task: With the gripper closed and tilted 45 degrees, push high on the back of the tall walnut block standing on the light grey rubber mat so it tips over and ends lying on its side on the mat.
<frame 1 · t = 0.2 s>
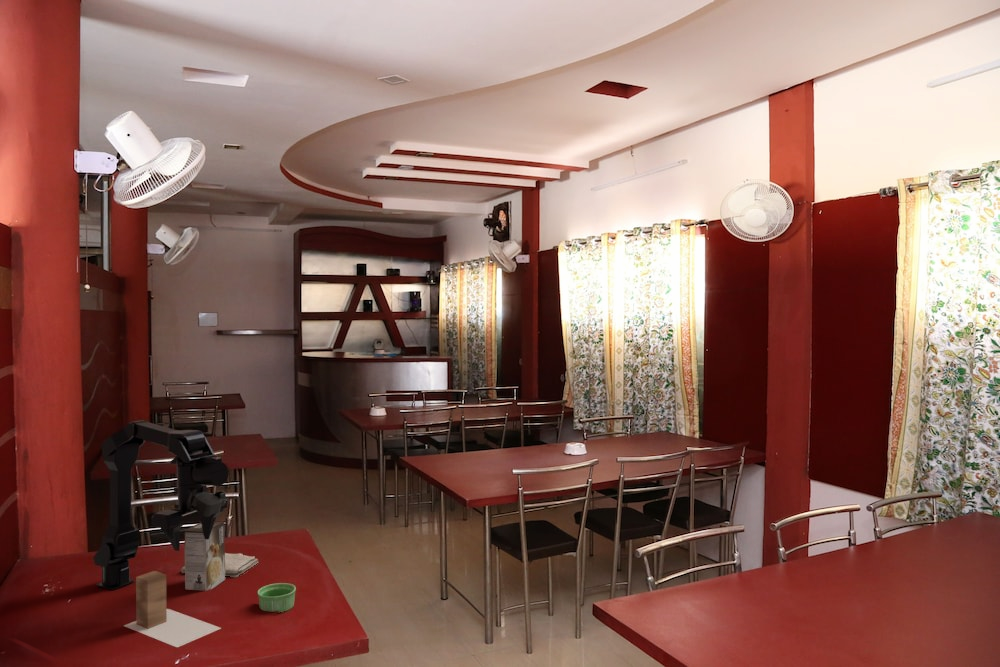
hand: (192, 544, 175), 14 cm above the table, tool pointing down, fingers open, 9 cm apart
washcloth: (220, 570, 199), on the table
ramekin: (276, 608, 173), on the table
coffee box: (205, 586, 186), on the table
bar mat: (172, 629, 160), on the table
walnut block: (151, 623, 162), point 1 cm above the table, touching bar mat
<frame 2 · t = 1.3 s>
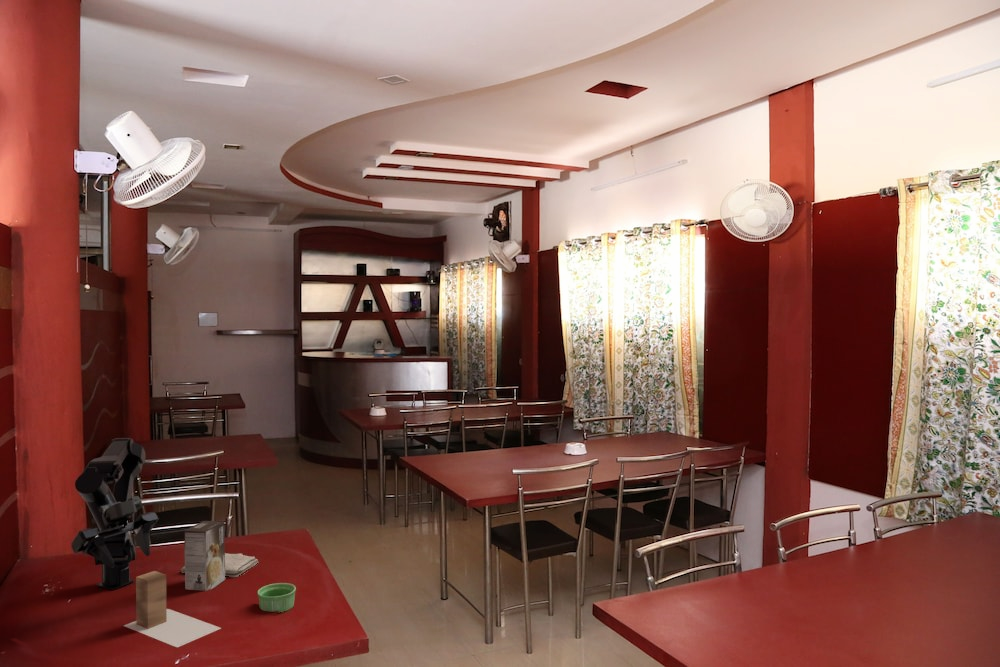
hand: (131, 560, 167), 13 cm above the table, tool tilted 45°, fingers open, 8 cm apart
nothing on the table moved.
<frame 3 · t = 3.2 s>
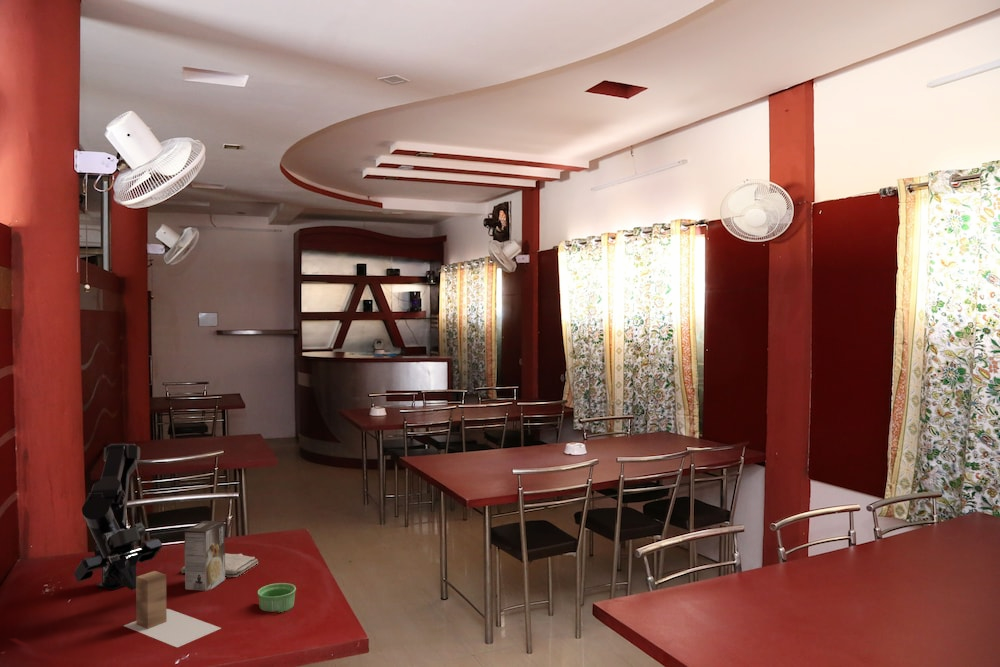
hand: (134, 588, 165), 7 cm above the table, tool tilted 45°, fingers closed
nothing on the table moved.
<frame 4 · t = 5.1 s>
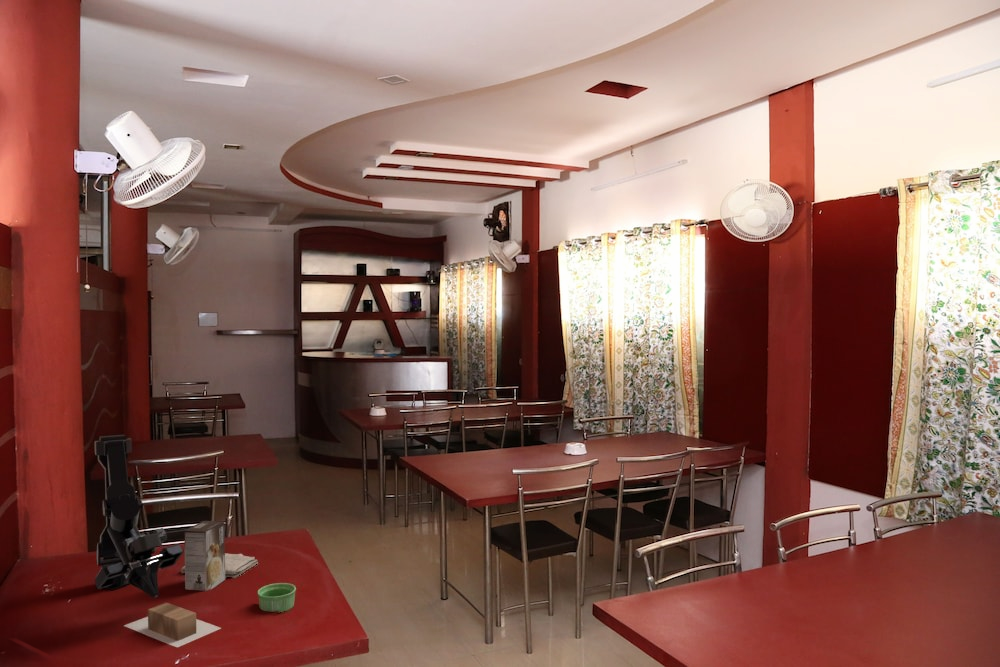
hand: (156, 596, 161), 7 cm above the table, tool tilted 45°, fingers closed
walnut block: (157, 615, 161), point 3 cm above the table, tilted 90°, touching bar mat
everything else where it was.
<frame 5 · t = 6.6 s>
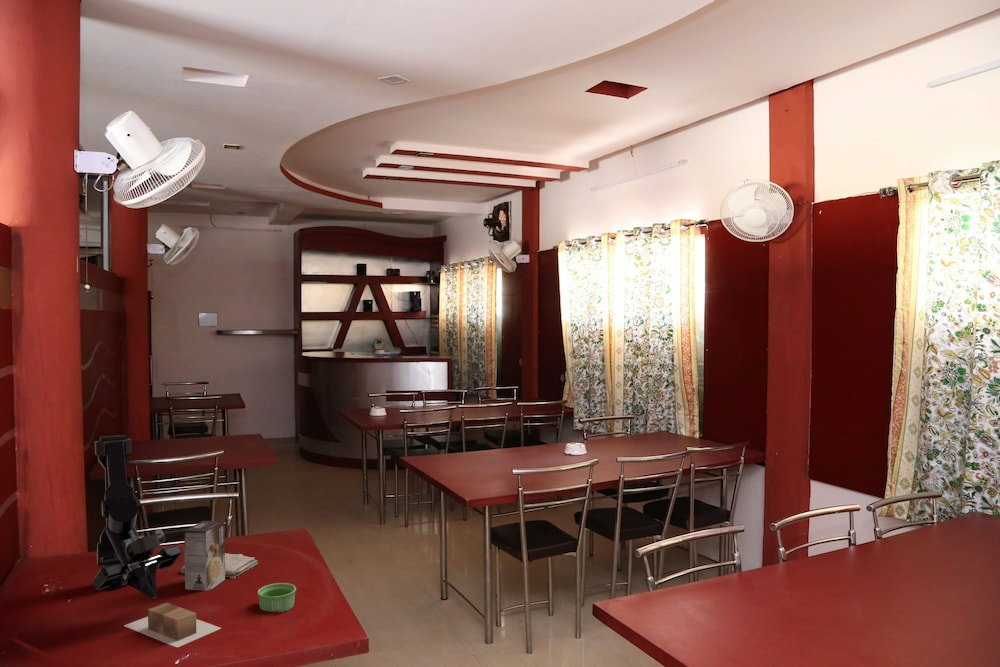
hand: (154, 597, 162), 7 cm above the table, tool tilted 45°, fingers closed
nothing on the table moved.
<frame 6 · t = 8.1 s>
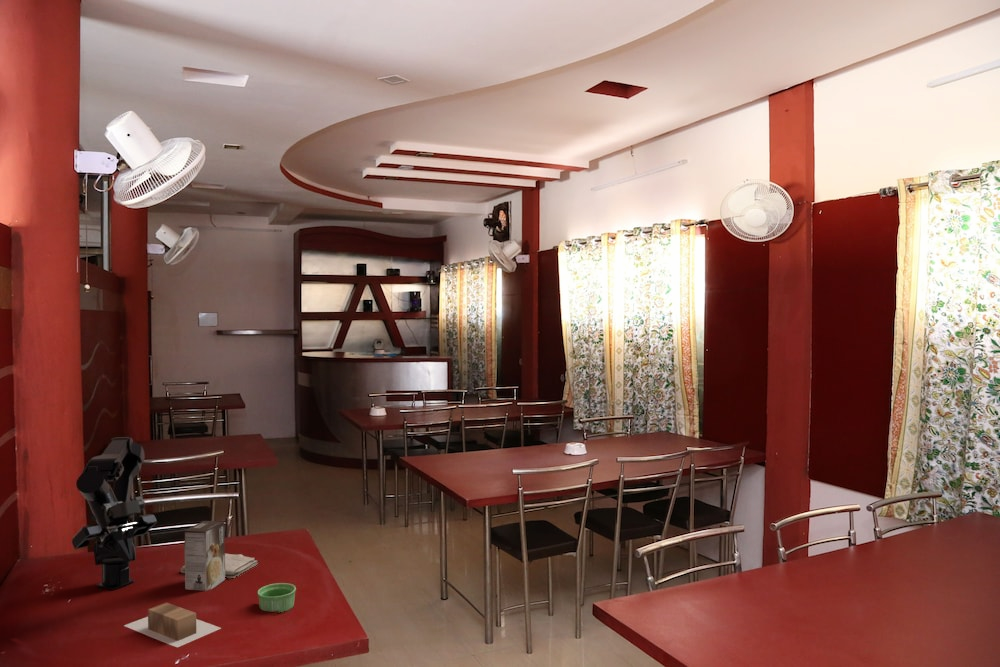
hand: (130, 561, 167), 13 cm above the table, tool tilted 40°, fingers closed
nothing on the table moved.
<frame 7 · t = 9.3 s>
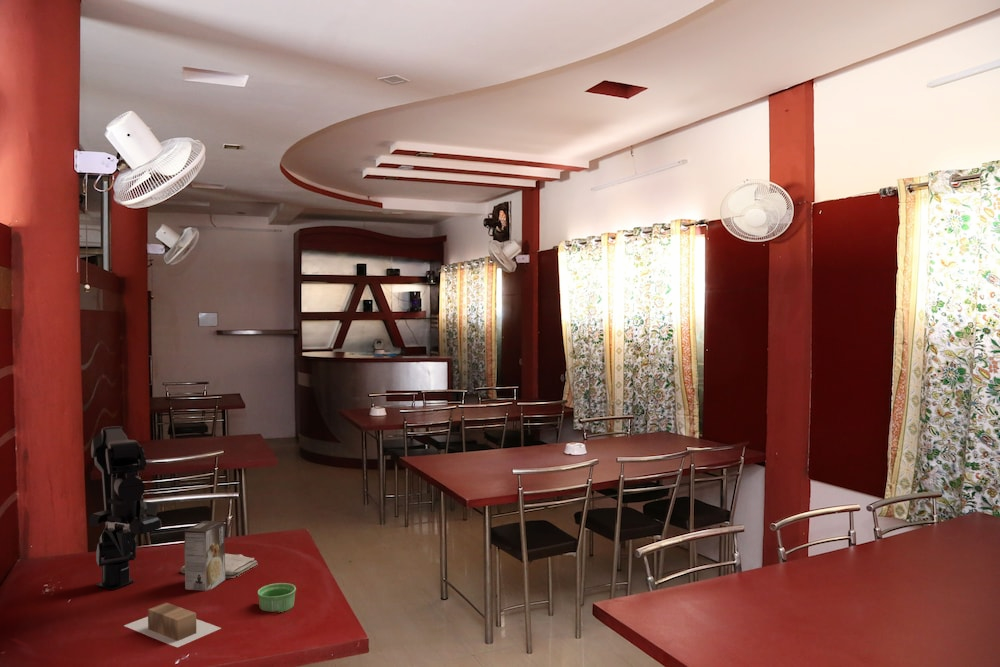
hand: (125, 556, 174), 12 cm above the table, tool pointing down, fingers closed
nothing on the table moved.
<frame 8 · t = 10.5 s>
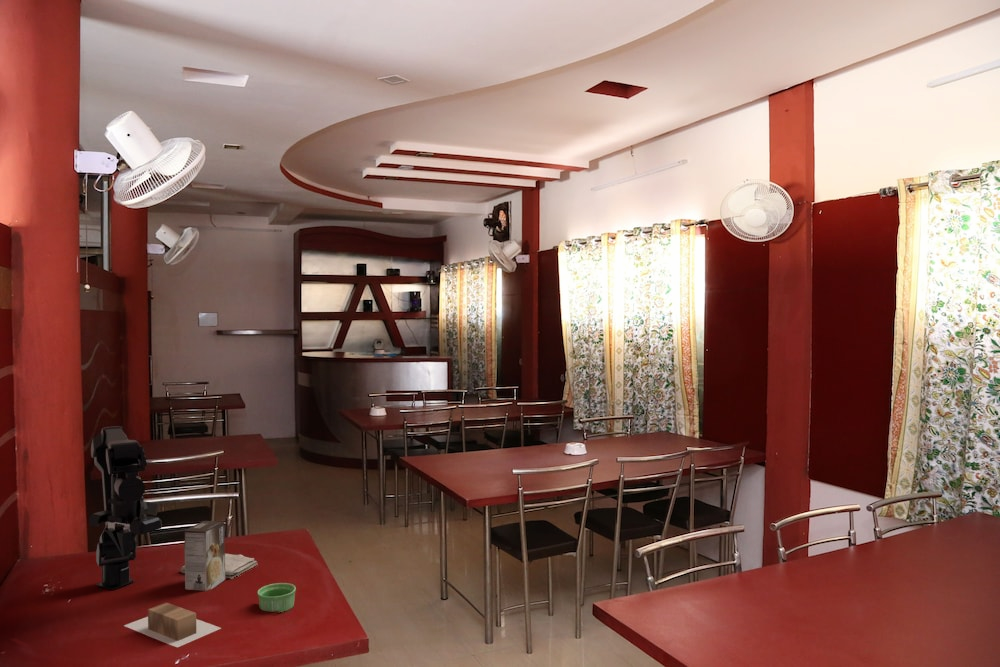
hand: (125, 556, 174), 12 cm above the table, tool pointing down, fingers closed
nothing on the table moved.
at the end: walnut block tilted 90°; walnut block touching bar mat; the gripper is holding nothing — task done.
